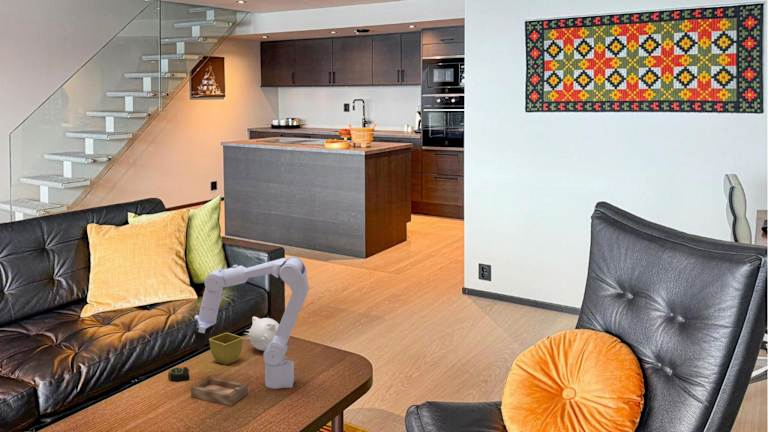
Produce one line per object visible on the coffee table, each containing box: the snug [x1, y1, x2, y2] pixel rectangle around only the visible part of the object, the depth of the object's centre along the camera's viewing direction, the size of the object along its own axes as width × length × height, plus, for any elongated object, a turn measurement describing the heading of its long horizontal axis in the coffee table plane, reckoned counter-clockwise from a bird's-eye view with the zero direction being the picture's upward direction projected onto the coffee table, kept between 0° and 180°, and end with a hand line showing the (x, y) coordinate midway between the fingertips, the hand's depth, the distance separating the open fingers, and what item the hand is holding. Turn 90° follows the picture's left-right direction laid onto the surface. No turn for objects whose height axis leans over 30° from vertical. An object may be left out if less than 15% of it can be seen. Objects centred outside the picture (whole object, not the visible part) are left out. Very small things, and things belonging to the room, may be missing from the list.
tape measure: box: [167, 366, 191, 383], centre depth 227 cm, size 7×7×4 cm
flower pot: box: [208, 332, 244, 366], centre depth 242 cm, size 9×9×9 cm
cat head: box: [243, 316, 280, 352], centre depth 253 cm, size 15×13×12 cm
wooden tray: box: [190, 375, 249, 407], centre depth 214 cm, size 15×9×4 cm, turn 68°
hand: (201, 344), depth 222 cm, fingers open, 7 cm apart
